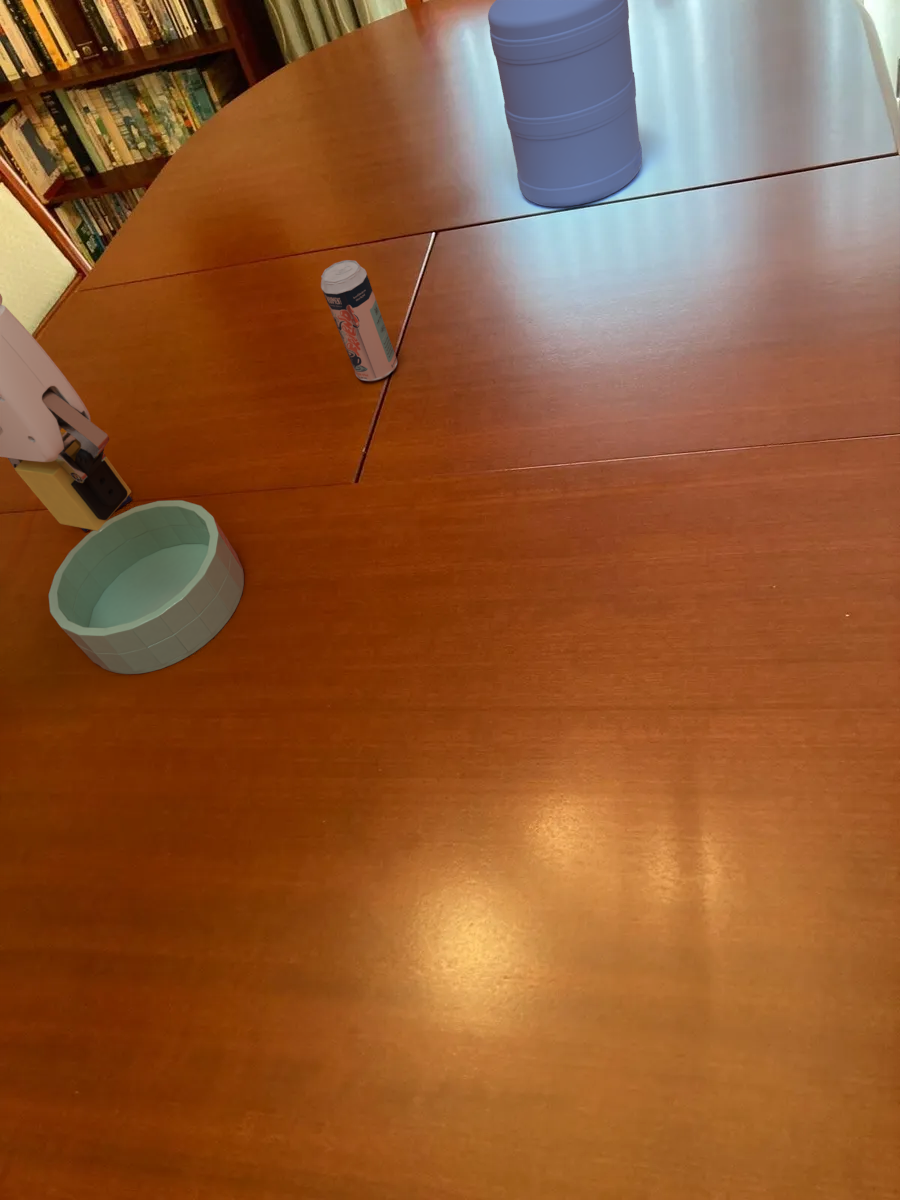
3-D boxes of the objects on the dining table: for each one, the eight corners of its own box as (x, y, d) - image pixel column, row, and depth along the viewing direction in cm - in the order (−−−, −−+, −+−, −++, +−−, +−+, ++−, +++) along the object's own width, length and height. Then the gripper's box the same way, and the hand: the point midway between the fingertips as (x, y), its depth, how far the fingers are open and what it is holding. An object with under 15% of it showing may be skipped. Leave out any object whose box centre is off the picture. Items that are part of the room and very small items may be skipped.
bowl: (67, 691, 76) (29, 653, 72) (102, 562, 86) (70, 523, 82) (236, 652, 74) (206, 610, 70) (250, 525, 84) (225, 483, 80)
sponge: (59, 524, 71) (13, 469, 67) (94, 485, 73) (51, 430, 69) (97, 531, 69) (52, 475, 65) (132, 491, 71) (90, 434, 67)
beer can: (351, 370, 97) (311, 271, 89) (389, 352, 98) (354, 252, 89) (365, 390, 94) (325, 290, 85) (405, 371, 95) (369, 269, 86)
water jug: (629, 204, 106) (600, -76, 85) (506, 215, 112) (451, -44, 91) (653, 142, 114) (632, -124, 94) (537, 156, 120) (494, -92, 100)
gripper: (-179, 335, 60) (-6, 523, 73) (-24, 343, 52) (138, 552, 65) (-98, 272, 63) (52, 462, 77) (58, 271, 56) (195, 482, 69)
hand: (90, 501), depth 71 cm, fingers closed on sponge, 4 cm apart
